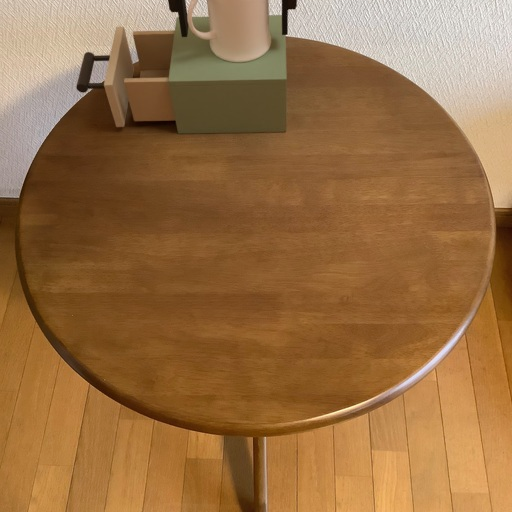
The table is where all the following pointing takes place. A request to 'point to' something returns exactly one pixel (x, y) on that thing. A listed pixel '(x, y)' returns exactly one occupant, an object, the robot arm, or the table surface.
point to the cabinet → (227, 85)
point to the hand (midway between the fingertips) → (234, 29)
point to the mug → (236, 28)
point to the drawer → (135, 89)
